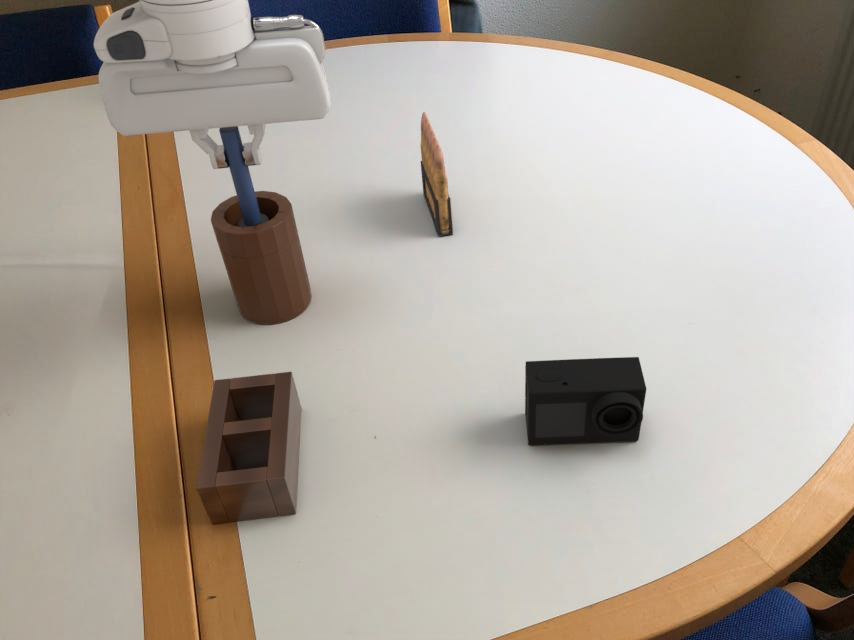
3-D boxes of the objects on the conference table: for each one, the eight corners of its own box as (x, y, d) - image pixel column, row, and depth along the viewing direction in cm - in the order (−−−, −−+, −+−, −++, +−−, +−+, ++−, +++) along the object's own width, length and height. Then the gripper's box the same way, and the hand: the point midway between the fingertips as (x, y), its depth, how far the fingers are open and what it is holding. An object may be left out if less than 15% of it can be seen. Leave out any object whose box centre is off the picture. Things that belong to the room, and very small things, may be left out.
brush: (248, 273, 86) (209, 137, 75) (250, 256, 88) (213, 121, 77) (278, 270, 86) (243, 134, 75) (279, 253, 88) (246, 119, 77)
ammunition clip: (423, 193, 107) (415, 109, 99) (436, 191, 107) (429, 107, 99) (438, 237, 99) (431, 149, 91) (453, 234, 99) (447, 147, 91)
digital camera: (527, 456, 73) (528, 403, 68) (524, 412, 77) (524, 360, 72) (641, 451, 73) (649, 398, 68) (631, 408, 77) (639, 355, 72)
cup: (235, 328, 87) (206, 237, 79) (242, 283, 93) (216, 194, 85) (310, 320, 88) (289, 229, 80) (312, 276, 94) (292, 187, 86)
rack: (212, 524, 68) (195, 488, 65) (227, 416, 78) (214, 379, 74) (296, 514, 69) (284, 478, 65) (301, 407, 78) (291, 371, 75)
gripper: (320, 0, 72) (342, 140, 82) (90, 18, 71) (140, 158, 80) (319, 26, 68) (342, 170, 77) (73, 45, 66) (128, 190, 76)
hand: (237, 164), depth 79 cm, fingers closed on brush, 2 cm apart
